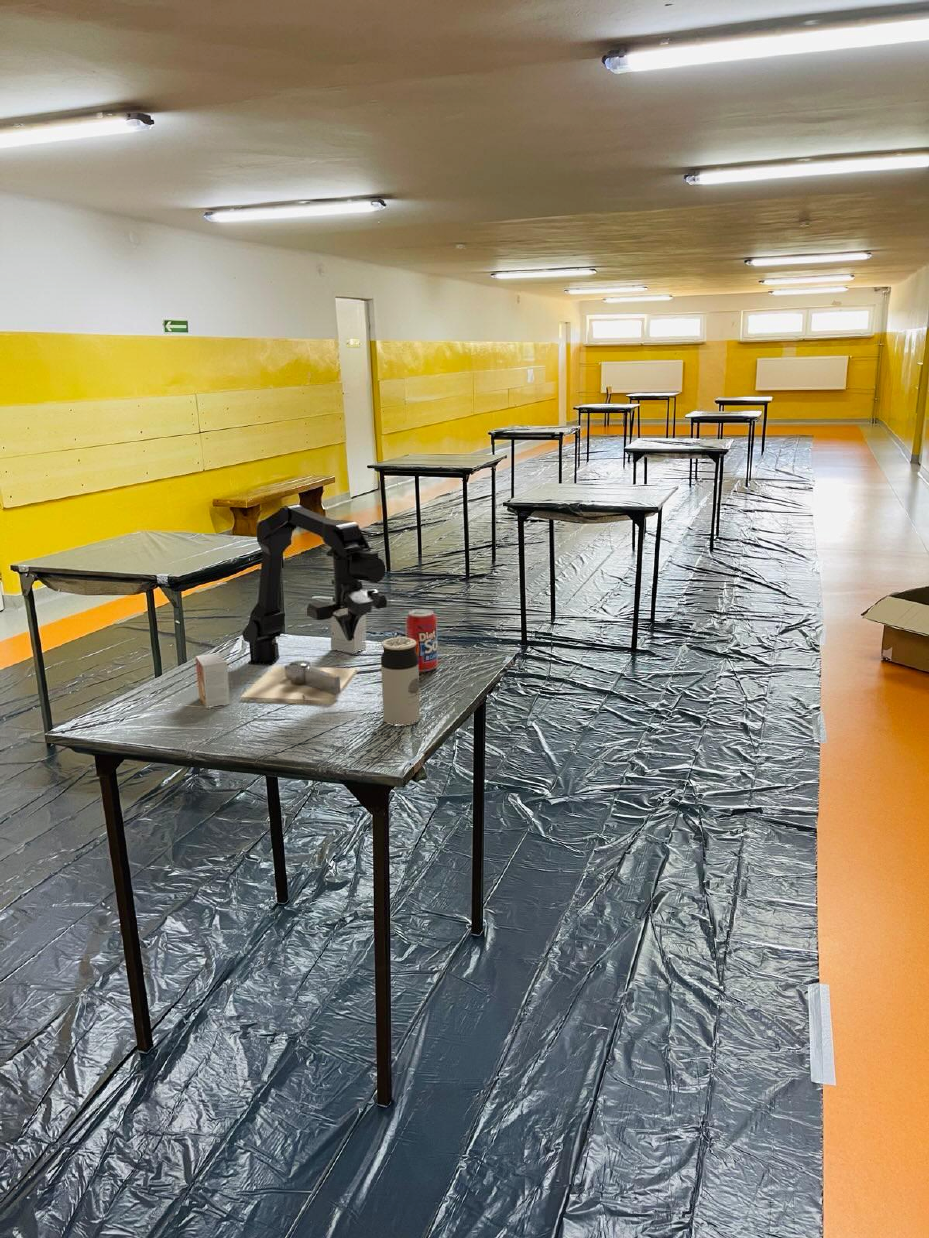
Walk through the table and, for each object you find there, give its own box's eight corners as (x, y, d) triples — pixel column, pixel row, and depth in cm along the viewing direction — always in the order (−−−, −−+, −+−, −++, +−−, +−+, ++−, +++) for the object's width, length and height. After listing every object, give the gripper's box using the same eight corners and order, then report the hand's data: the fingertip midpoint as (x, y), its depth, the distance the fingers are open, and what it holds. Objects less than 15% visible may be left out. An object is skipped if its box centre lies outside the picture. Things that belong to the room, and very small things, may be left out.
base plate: (240, 700, 204) (240, 696, 204) (274, 669, 225) (273, 665, 225) (331, 704, 201) (331, 700, 201) (357, 672, 222) (356, 668, 221)
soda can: (409, 663, 228) (407, 608, 224) (438, 663, 228) (437, 607, 224) (405, 673, 221) (403, 616, 216) (436, 673, 220) (435, 616, 216)
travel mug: (376, 720, 192) (372, 642, 187) (403, 710, 197) (400, 634, 192) (400, 730, 186) (397, 650, 181) (427, 719, 192) (425, 641, 187)
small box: (199, 698, 206) (194, 655, 203) (223, 693, 209) (219, 652, 206) (206, 709, 199) (201, 665, 196) (230, 704, 202) (226, 661, 199)
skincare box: (330, 650, 239) (327, 598, 235) (343, 644, 244) (340, 592, 240) (356, 654, 235) (353, 601, 231) (368, 648, 241) (366, 596, 236)
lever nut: (279, 679, 214) (278, 662, 213) (296, 673, 218) (294, 657, 216) (329, 696, 202) (328, 678, 201) (345, 690, 206) (344, 673, 205)
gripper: (326, 589, 191) (330, 657, 196) (398, 576, 202) (401, 641, 206) (303, 580, 200) (308, 645, 204) (374, 568, 210) (376, 630, 215)
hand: (349, 640), depth 207 cm, fingers closed
